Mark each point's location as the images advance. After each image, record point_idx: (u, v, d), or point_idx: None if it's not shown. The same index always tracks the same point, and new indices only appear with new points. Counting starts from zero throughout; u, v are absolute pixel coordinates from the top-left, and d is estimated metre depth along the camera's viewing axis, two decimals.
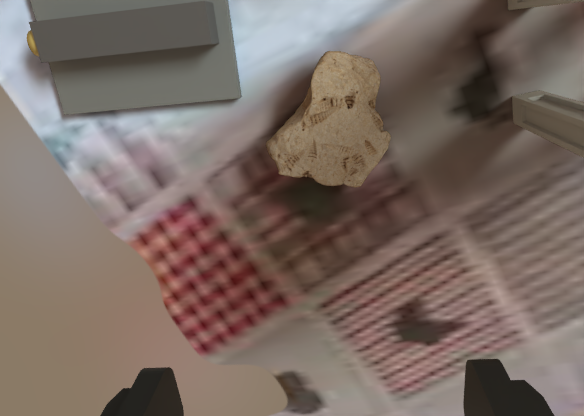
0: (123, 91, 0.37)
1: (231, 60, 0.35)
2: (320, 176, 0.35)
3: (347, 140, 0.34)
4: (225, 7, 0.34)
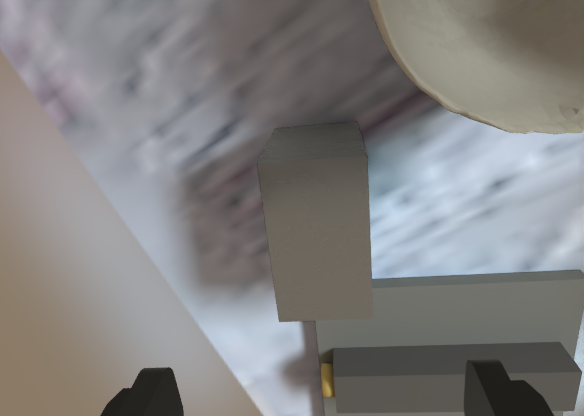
0: (409, 413, 0.30)
1: None
2: None
3: None
4: (574, 346, 0.26)
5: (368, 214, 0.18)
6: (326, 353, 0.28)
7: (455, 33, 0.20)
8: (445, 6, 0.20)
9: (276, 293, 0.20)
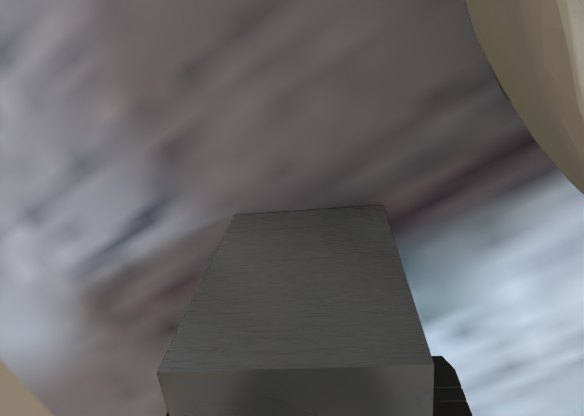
0: None
1: None
2: None
3: None
4: None
5: None
6: None
7: None
8: None
9: None
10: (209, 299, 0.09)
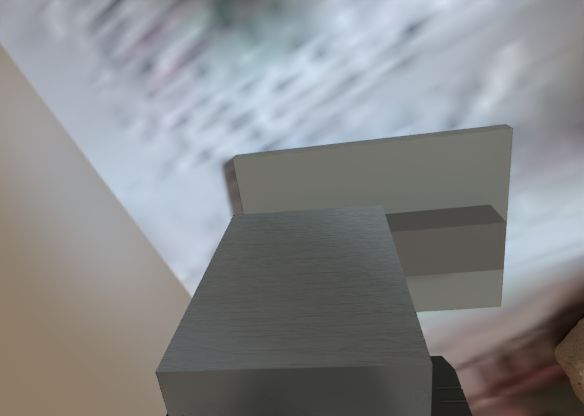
0: None
1: None
2: None
3: None
4: (506, 209, 0.25)
5: None
6: None
7: None
8: None
9: None
10: (208, 299, 0.09)
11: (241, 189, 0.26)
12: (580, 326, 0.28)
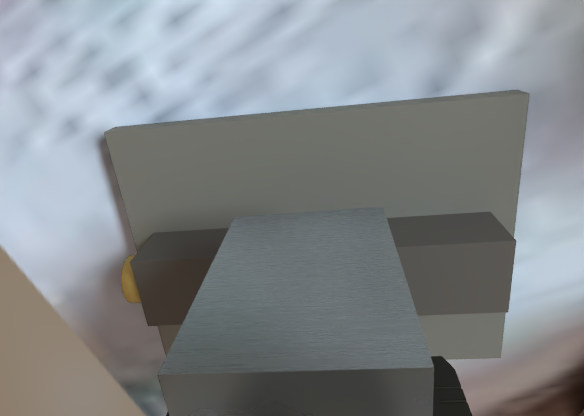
0: None
1: None
2: None
3: None
4: (513, 219, 0.17)
5: None
6: (146, 242, 0.19)
7: None
8: None
9: None
10: (210, 301, 0.09)
11: (120, 178, 0.18)
12: None
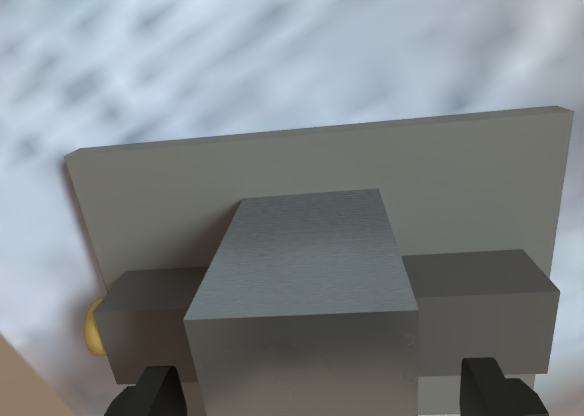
0: None
1: None
2: None
3: None
4: (549, 258, 0.14)
5: (415, 413, 0.09)
6: (117, 281, 0.16)
7: None
8: None
9: None
10: (224, 265, 0.10)
11: (85, 209, 0.15)
12: None
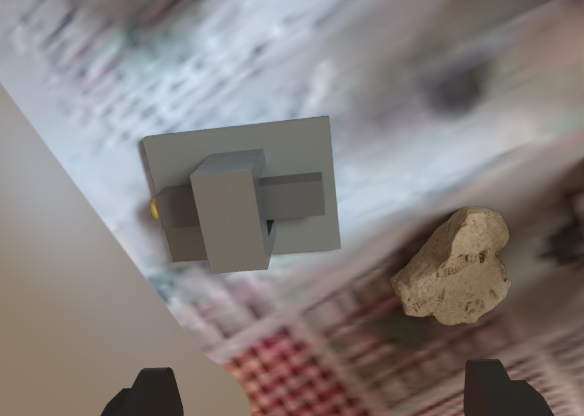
0: None
1: (335, 218, 0.38)
2: (443, 317, 0.37)
3: (473, 288, 0.36)
4: (333, 175, 0.36)
5: (256, 204, 0.31)
6: None
7: None
8: None
9: (207, 254, 0.33)
10: (202, 167, 0.32)
11: (149, 160, 0.37)
12: (411, 260, 0.39)
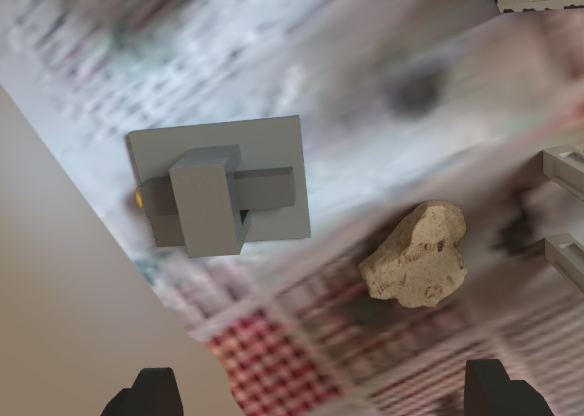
0: None
1: (305, 209, 0.41)
2: (404, 300, 0.41)
3: (432, 274, 0.40)
4: (303, 170, 0.40)
5: (228, 195, 0.34)
6: None
7: None
8: None
9: (185, 240, 0.36)
10: (181, 161, 0.36)
11: (134, 153, 0.40)
12: (378, 248, 0.42)
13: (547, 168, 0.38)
